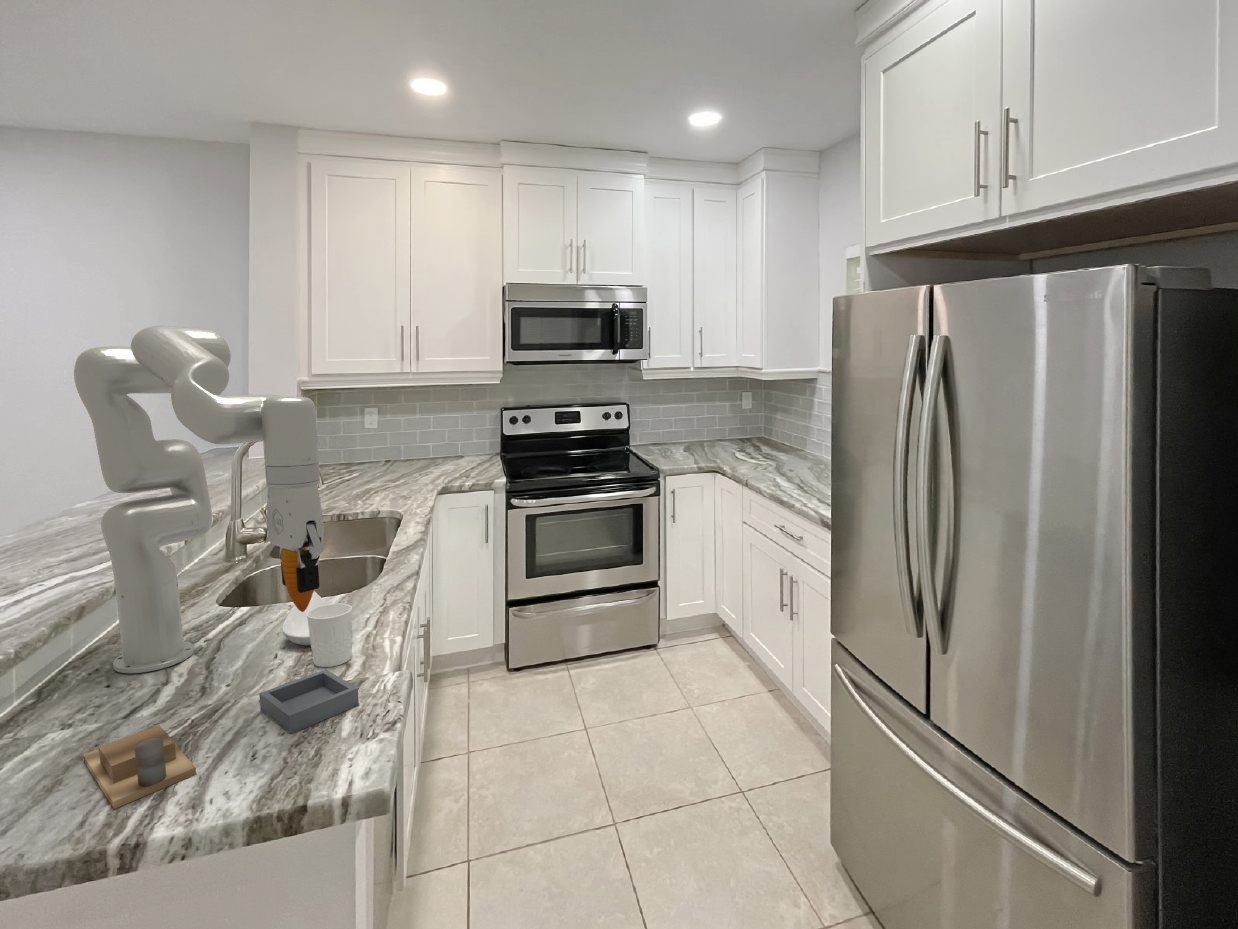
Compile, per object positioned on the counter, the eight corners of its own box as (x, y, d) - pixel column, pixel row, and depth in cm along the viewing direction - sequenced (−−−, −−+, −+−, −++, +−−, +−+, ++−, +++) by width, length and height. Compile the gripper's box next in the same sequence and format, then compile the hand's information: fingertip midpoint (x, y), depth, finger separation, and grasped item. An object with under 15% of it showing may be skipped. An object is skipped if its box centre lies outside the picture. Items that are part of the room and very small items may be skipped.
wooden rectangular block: (100, 763, 86) (98, 746, 85) (160, 740, 91) (159, 725, 91) (113, 783, 81) (111, 766, 81) (176, 758, 87) (174, 742, 86)
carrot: (326, 608, 101) (320, 519, 99) (302, 619, 97) (295, 525, 95) (303, 604, 103) (296, 517, 101) (278, 615, 98) (270, 523, 96)
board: (83, 761, 88) (78, 721, 87) (159, 733, 95) (155, 696, 94) (113, 809, 78) (108, 765, 77) (196, 774, 85) (192, 733, 84)
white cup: (340, 670, 115) (337, 619, 114) (301, 668, 116) (297, 617, 115) (362, 652, 123) (359, 604, 122) (326, 650, 124) (322, 602, 123)
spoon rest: (350, 644, 128) (348, 610, 127) (286, 658, 121) (284, 623, 120) (331, 609, 147) (329, 580, 146) (275, 620, 141) (273, 589, 140)
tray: (260, 710, 101) (259, 693, 101) (327, 685, 110) (325, 669, 109) (290, 734, 94) (289, 715, 94) (358, 705, 103) (357, 688, 102)
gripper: (245, 473, 99) (254, 582, 102) (292, 483, 89) (301, 605, 91) (293, 468, 105) (300, 571, 107) (343, 477, 95) (349, 592, 97)
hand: (300, 585), depth 99 cm, fingers closed on carrot, 4 cm apart
